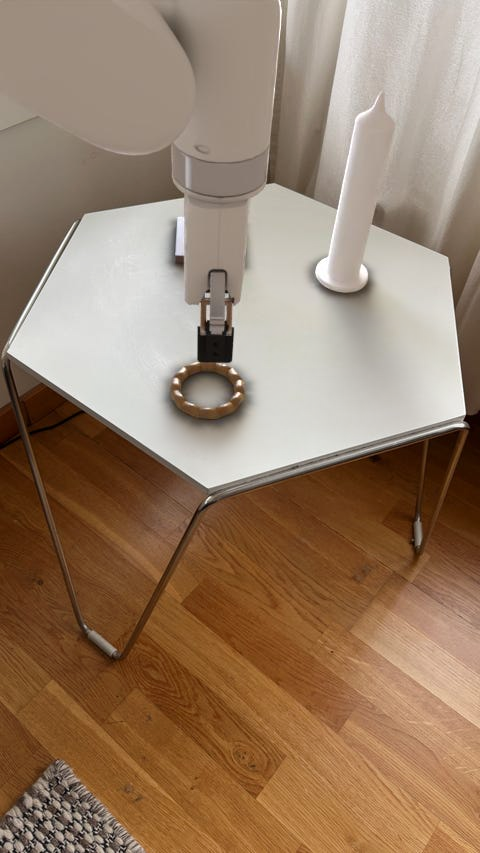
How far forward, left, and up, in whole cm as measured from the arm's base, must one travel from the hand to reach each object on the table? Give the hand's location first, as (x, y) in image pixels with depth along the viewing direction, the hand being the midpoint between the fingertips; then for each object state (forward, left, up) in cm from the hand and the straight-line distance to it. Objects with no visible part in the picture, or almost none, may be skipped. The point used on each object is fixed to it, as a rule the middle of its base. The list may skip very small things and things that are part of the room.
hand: (214, 324), depth 68 cm
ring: (0, +3, -13) cm, 13 cm away
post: (0, +31, -14) cm, 34 cm away
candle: (+18, +25, -14) cm, 34 cm away
